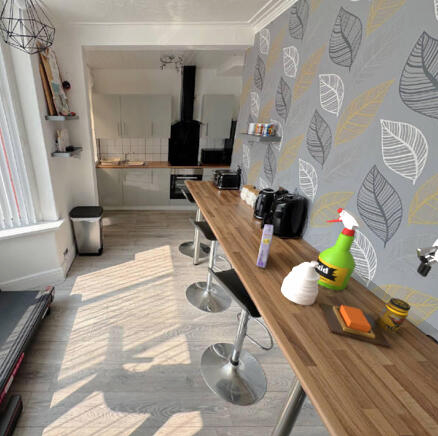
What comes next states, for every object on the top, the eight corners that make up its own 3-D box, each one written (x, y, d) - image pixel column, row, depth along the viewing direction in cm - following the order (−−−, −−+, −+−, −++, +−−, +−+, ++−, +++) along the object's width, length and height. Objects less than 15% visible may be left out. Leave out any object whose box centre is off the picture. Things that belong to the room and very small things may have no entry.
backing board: (368, 316, 93) (371, 312, 92) (389, 348, 80) (392, 343, 79) (319, 304, 98) (321, 300, 97) (330, 332, 85) (333, 327, 84)
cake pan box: (258, 249, 138) (265, 222, 131) (267, 252, 136) (275, 224, 129) (254, 266, 122) (262, 236, 115) (265, 269, 120) (273, 238, 113)
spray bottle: (320, 266, 125) (344, 204, 111) (353, 288, 108) (386, 219, 94) (298, 268, 122) (320, 205, 108) (328, 291, 106) (359, 221, 92)
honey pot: (321, 299, 101) (336, 265, 94) (302, 308, 96) (316, 272, 88) (293, 282, 111) (304, 249, 104) (274, 289, 106) (285, 255, 99)
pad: (356, 316, 92) (360, 309, 90) (367, 334, 84) (371, 327, 82) (338, 311, 93) (341, 304, 92) (347, 328, 86) (350, 321, 84)
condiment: (394, 337, 85) (410, 312, 80) (365, 321, 92) (378, 297, 87) (401, 329, 89) (416, 304, 84) (372, 314, 95) (386, 290, 90)
